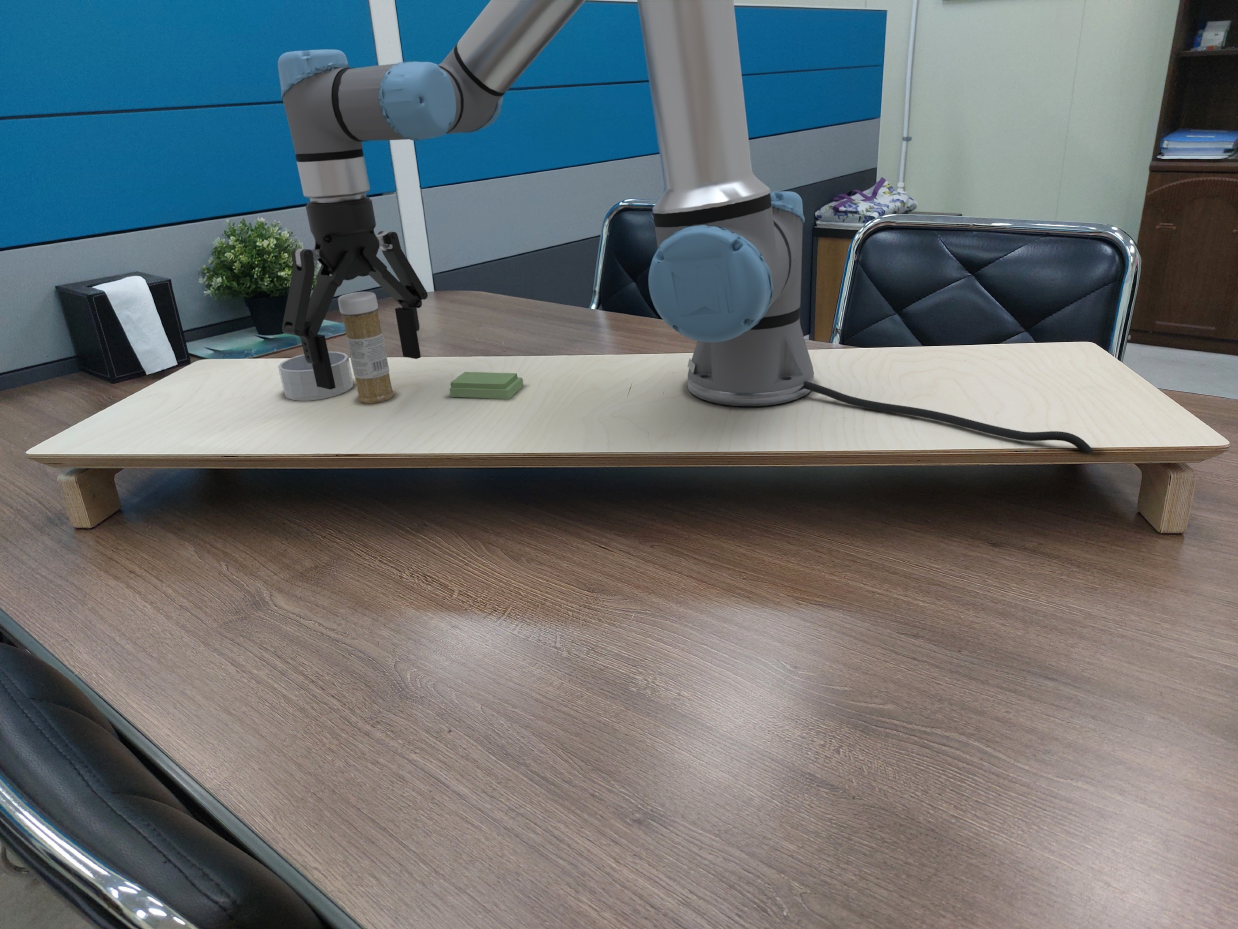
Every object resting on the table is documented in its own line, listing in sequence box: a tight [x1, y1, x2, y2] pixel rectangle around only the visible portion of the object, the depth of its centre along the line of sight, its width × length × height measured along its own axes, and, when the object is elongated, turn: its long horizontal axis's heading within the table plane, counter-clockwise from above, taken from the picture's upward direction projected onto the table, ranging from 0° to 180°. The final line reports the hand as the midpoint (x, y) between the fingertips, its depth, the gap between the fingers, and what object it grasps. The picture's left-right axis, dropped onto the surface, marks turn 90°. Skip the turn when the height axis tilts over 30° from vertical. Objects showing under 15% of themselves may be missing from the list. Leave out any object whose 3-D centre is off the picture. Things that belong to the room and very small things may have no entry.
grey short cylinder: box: [277, 351, 354, 402], centre depth 111 cm, size 9×9×4 cm
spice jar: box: [337, 291, 395, 404], centre depth 105 cm, size 5×5×13 cm
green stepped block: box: [449, 371, 524, 400], centre depth 107 cm, size 8×5×2 cm, turn 75°
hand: (371, 371), depth 106 cm, fingers open, 13 cm apart
